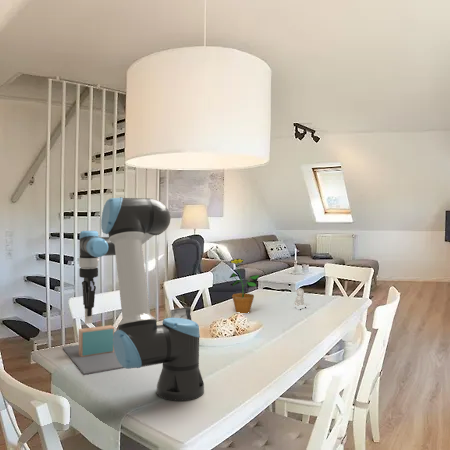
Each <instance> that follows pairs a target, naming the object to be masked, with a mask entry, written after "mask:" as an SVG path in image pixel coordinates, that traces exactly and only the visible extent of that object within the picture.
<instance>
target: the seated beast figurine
mask: <svg viewBox="0 0 450 450" xmlns="http://www.w3.org/2000/svg"><path fill="white" fill-rule="evenodd" d="M294 292H295V293H296V295H297V296H296V297H295V300H294V303H293V305H294V304H295V305H297V306H299V305H304V304H305V301H304V300H305V299H304V295H305V291H304V289H303V288H297V289H295V290H294Z"/></svg>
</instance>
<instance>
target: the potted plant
mask: <svg viewBox="0 0 450 450" xmlns="http://www.w3.org/2000/svg"><path fill="white" fill-rule="evenodd" d="M244 261H245V260H244V259H242V258H235V259H231V260H229V263H230V264H234V265H235V264H236V267H237V273H238V274H236V273H235V272H232V274H231V275H230V276H229V279H232V278H234V279H235V280H236V281H234V282H232V283H230V286H231V287H234V286H236V285H238V284H239V283H241V286H242V292H239V293H238V292H237V293H233V294H232V295H231V296H232V301H233V305H234V308H235V312H240V313H248V312H249V313H251V309H252V305H253V301H254V298H255V296H254V294H252V293H251V294H250V293H247V292H245V291H244V287H245V286H246V285H247V289H250V288H254V287H256V286H257V282H258V279H259V278H260V274H257V275H256V274H255V275H250V276H249V277H248V279H247V281H246V282H245V284H243V279H242V276H241V274H240V270H239V267H238V264H241V263H244ZM236 277H239V278H240V280H238V279H237V278H236ZM250 279H251V281H250ZM244 292H245V293H244ZM249 313H248V314H249Z"/></svg>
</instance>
